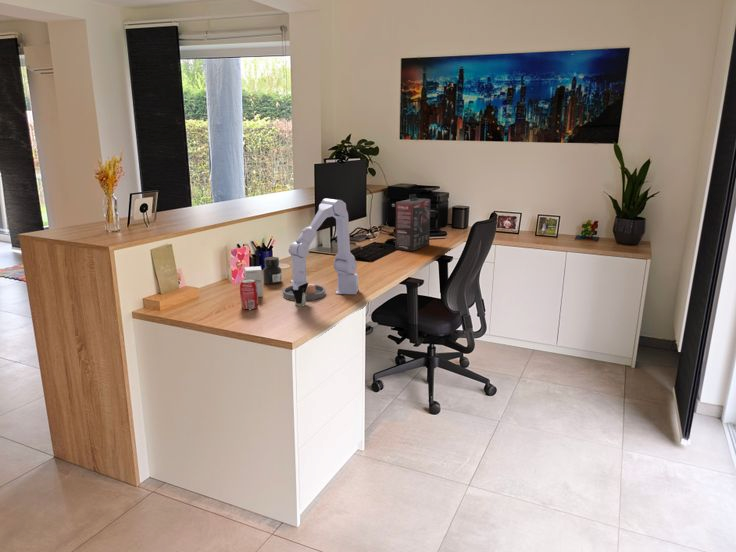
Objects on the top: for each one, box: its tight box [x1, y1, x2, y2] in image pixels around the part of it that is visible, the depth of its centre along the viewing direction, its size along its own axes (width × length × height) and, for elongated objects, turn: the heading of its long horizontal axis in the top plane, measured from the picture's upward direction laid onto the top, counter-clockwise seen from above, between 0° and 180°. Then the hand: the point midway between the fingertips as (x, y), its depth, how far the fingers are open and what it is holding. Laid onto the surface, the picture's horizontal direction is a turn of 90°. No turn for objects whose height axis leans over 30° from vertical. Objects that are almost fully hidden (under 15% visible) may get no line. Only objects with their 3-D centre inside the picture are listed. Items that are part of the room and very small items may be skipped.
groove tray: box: [282, 284, 326, 301], centre depth 250 cm, size 19×19×2 cm
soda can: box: [239, 278, 259, 310], centre depth 230 cm, size 7×7×12 cm
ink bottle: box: [262, 256, 283, 285], centre depth 269 cm, size 10×9×12 cm
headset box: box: [394, 193, 431, 252], centre depth 344 cm, size 25×12×33 cm, turn 148°
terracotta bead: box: [306, 283, 316, 295], centre depth 245 cm, size 4×4×5 cm
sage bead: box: [294, 292, 306, 307], centre depth 235 cm, size 4×4×5 cm
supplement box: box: [243, 265, 264, 298], centre depth 248 cm, size 7×7×13 cm
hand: (300, 301), depth 236 cm, fingers closed on sage bead, 4 cm apart
